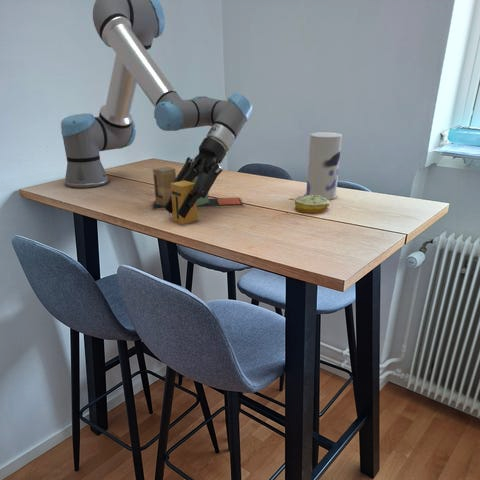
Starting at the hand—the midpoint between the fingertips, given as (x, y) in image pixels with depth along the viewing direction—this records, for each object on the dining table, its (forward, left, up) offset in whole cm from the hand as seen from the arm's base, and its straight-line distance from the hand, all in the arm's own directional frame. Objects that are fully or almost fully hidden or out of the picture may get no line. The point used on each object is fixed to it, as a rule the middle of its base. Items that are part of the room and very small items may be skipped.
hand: (174, 213), depth 132 cm
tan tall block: (-17, +10, -3) cm, 20 cm away
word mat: (-11, +18, -3) cm, 21 cm away
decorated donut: (+18, +40, -4) cm, 44 cm away
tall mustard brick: (0, +4, -3) cm, 5 cm away
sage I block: (-11, +18, -3) cm, 21 cm away
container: (+11, +54, -4) cm, 55 cm away
